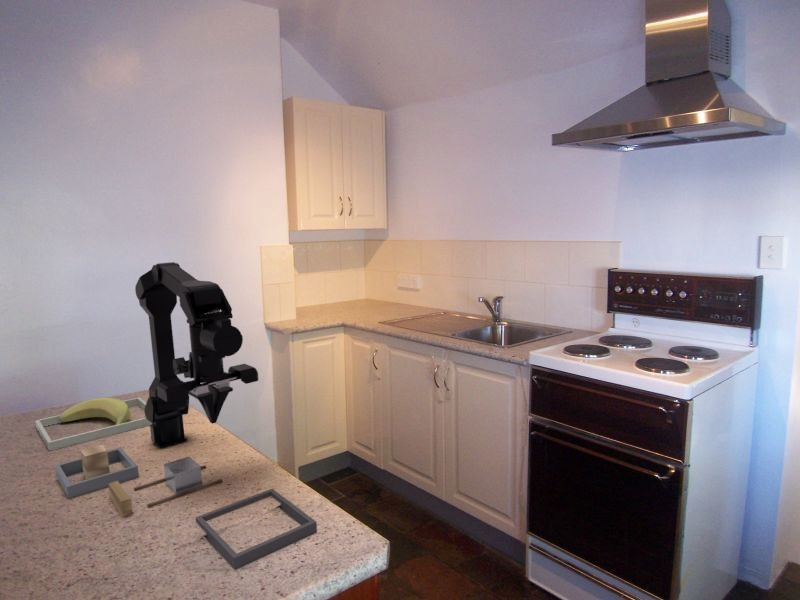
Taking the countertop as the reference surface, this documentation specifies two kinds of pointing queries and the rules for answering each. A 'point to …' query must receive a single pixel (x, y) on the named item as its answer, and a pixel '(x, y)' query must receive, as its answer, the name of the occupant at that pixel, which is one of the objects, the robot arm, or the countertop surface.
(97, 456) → the block
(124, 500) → the track
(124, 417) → the banana
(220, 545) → the dark grey square frame
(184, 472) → the grey small block
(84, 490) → the tray
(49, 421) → the fruit rim
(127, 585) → the countertop surface
